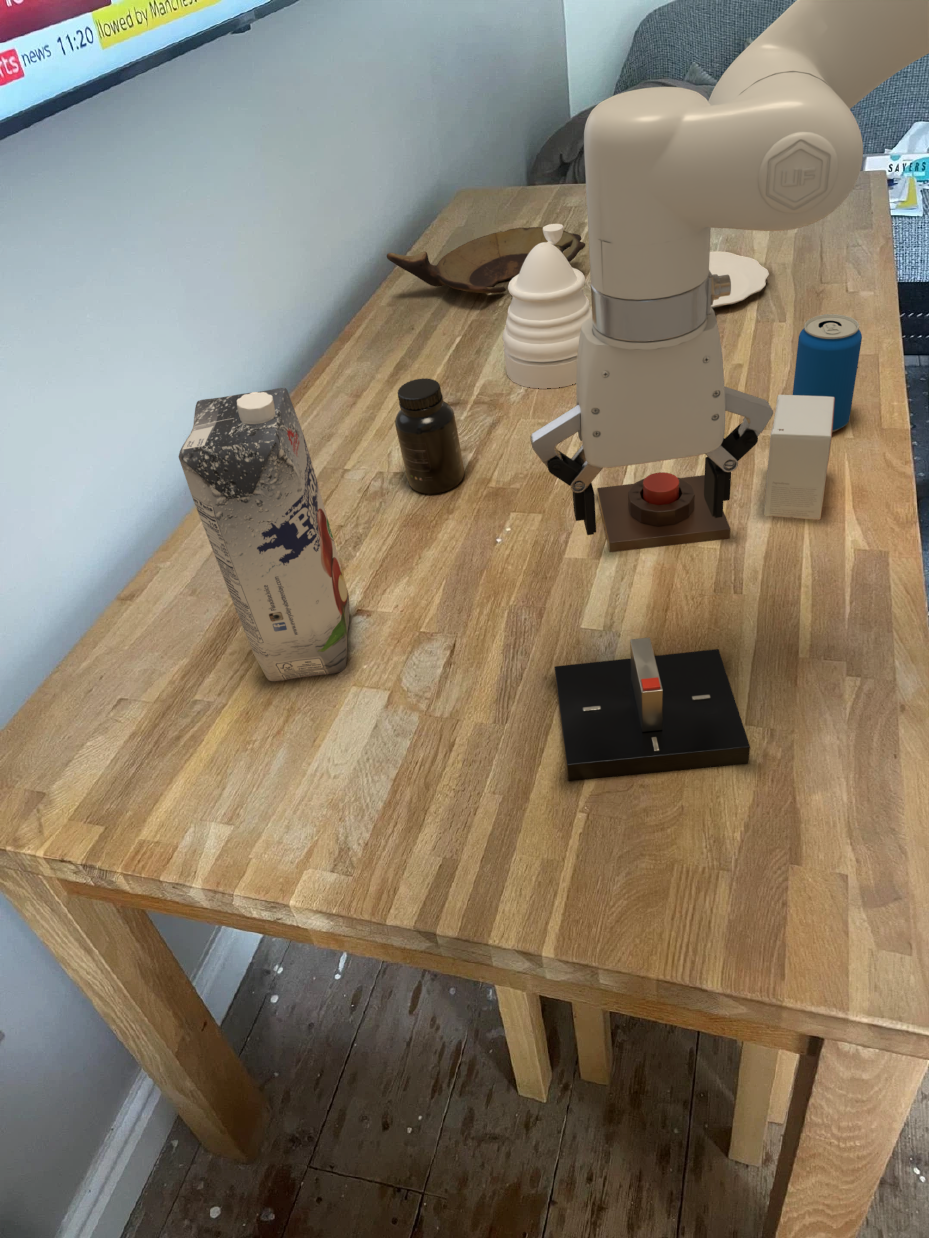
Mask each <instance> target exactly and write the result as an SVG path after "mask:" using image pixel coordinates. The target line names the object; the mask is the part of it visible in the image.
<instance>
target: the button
mask: <svg viewBox="0 0 929 1238" xmlns="http://www.w3.org/2000/svg"><path fill="white" fill-rule="evenodd" d="M644 478H645V479H644ZM644 478H643V479H644V481H643V498H644V500H645V501H646V502H648V503H649V504H655V505H665V504H671V503H673V502H675V501H676V500H677V499H678V497H679V479H678V478H679V477H678V478H677V476H676V475H675V474H673V473H670V472H664V471H663V472H654V473H650V474H649V475H647V476H646V477H644Z"/></svg>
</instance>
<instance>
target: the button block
mask: <svg viewBox="0 0 929 1238" xmlns="http://www.w3.org/2000/svg"><path fill="white" fill-rule="evenodd" d="M676 477H677V476H676ZM645 478H646V477H644V478H642V479H640V480H638V481H636V482H634V483H628V484H619V485H618V484H617V485H610V486H602V487H597V488H596V491H597V492H596V493H597V501H598V506H599V511H600V514H601V519H602V523H603V528H604V533H605V537H606V541H607V542H606V543H607V547H608V552H609V553H615V552H625V551H626V552H627V551H633V550H641V549H642V550H643V549H650V548H651V549H652V548H659V547H668V546H675V545H677V546H678V545H684V544H685V545H686V544H687V545H688V544H695V543H705V542H711V541H721V540H729V539H731V526H730V524H729V522H728V518H727V516H726V514H725V511H724V510H723V516H722V517H719V518H715V517H714V516H713V517H712V515H711V513H710V510H709V508H708V505H707V503H706V501H705V498H704V478H705V474H701V475H695V476H685V477H677V478H678V479H679V497H678V499H677V500H676V501H675V502H673V503H671V504H665V505H655V504H649V503H648V502H646V501H645V500H644V498H643V481H644V479H645Z"/></svg>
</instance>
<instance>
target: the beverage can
mask: <svg viewBox="0 0 929 1238" xmlns="http://www.w3.org/2000/svg"><path fill="white" fill-rule="evenodd" d="M797 339H798V340H797V347H796V358H795V368H794V377H793V386H792V387H793V388H792V395H802V396H828V397H835V402H834V417H833V429H832V433H835V432H837V431H838V430H840V429H842V428H844V427H845V426H846V425H847V424H849V422H850V419H851V411H852V405H853V399H854V391H855V386H856V380H857V379H856V378H857V373H858V367H859V366H858V365H859V359H860V353H861V346H862V339H863V334H862V332H861V330H860V323H859V322H858V320H856V319H855V318H853V317H852V316H848V315H845V314H837V313H829V314H828V313H825V314H820V315H816V316H813V317H810V318H809V319H807V320H806V321H805V323H804V325H803V328H802V329H801V331H800V332H799V335H798V338H797Z"/></svg>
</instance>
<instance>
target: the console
mask: <svg viewBox="0 0 929 1238" xmlns="http://www.w3.org/2000/svg"><path fill="white" fill-rule="evenodd" d="M654 656H655V660H656V664H657V669H658V673H659V677H660V681H661V685H662V689H663V729H662V730H656V731H646V732H642V729H641V724H640V719H639V714H638V709H637V705H636V700H635V695H634V690H633V686H632V681H631V657H629V658H621V659H610V660H602V661H592V662H591V661H590V662H584V663H573V664H564V665H555V666H554V677H555V678H554V680H555V686H556V694H557V695H556V696H557V701H558V702H557V703H558V711H559V718H560V727H561V735H562V744H563V751H564V757H565V759H564V760H565V766H566V767H565V768H566V775H567V782H575V781H576V782H577V781H585V780H596V779H606V778H607V779H608V778H618V777H628V776H638V775H648V774H649V775H650V774H659V773H668V772H679V771H680V772H681V771H690V770H700V769H708V768H709V769H710V768H711V769H712V768H722V767H731V766H741V765H749V764H750V763H749V761H750V754H751V753H750V752H751V751H750V750H751V745H750V741H749V740H748V735H747V733H746V730H745V726H744V723H743V719H742V717H741V715H740V711H739V708H738V705H737V702H736V699H735V696H734V693H733V692H734V691H733V689H732V687H731V684H730V680H729V677H728V673H727V670H726V668H725V665H724V664H725V663H724V661H723V657H722V656H721V651H720V649H719V648H714V649H705V650H696V651H687V652H686V651H685V652H677V653H668V654H658V655H654Z"/></svg>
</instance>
